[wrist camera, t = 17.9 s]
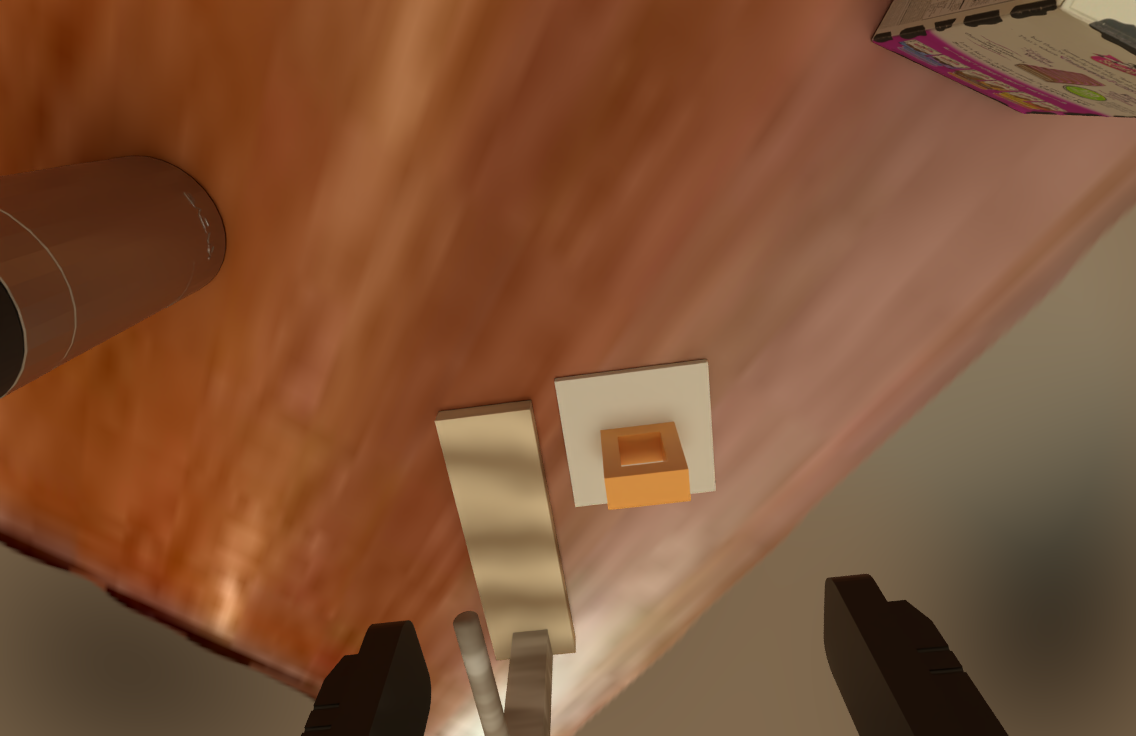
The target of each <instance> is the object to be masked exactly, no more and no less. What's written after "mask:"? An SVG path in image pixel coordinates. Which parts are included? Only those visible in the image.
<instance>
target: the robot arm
mask: <svg viewBox="0 0 1136 736" xmlns="http://www.w3.org/2000/svg"><path fill="white" fill-rule="evenodd" d="M225 248H226V247H225V232H224V228H223V224H222V220H221V217H220V215H219V213H218V211H217V209H216V207H215V204H214V203H213V202H212V200H211V199H210V197H209V196H208V194H207V193H206V192H205V190H204V189H203V188H202V187H201V186H200V185H199V184H198V183H197V182H196V181H195V180H194V179H193V178H191V177H190V176H189V175H187V174H186V173H185V172H183V171H182V170H180V169H179V168H177V167H175V166H173V165H171V164H169V163H167V162H165V161H162V160H158V159H154V158H151V157H145V156H127V157H121V158H114V159H108V160H101V161H95V162H88V163H80V164H73V165H67V166H61V167H55V168H49V169H43V170H36V171H30V172H24V173H18V174H12V175H5V176H0V398H2V397H4V396H6V395H8V394H10V393H11V392H13V391H15V390H17V389H19V388H20V387H22V386H24V385H26V384H28V383H30V382H31V381H33V380H35V379H37V378H39V377H40V376H42V375H44V374H46V373H48V372H50V371H51V370H52V369H54V368H56V367H58V366H60V365H62V364H63V363H65V362H67V361H69V360H71V359H73V358H74V357H76V356H78V355H80V354H82V353H84V352H85V351H87V350H89V349H91V348H93V347H95V346H96V345H98V344H100V343H102V342H104V341H106V340H107V339H109V338H111V337H113V336H115V335H117V334H118V333H120V332H122V331H124V330H126V329H128V328H129V327H131V326H133V325H135V324H137V323H139V322H140V321H142V320H144V319H146V318H148V317H150V316H151V315H153V314H155V313H157V312H159V311H161V310H162V309H164V308H166V307H168V306H170V305H172V304H174V303H176V302H177V301H179V300H181V299H183V298H185V297H186V296H188V295H190V294H192V293H194V292H196V291H197V290H199V289H201V288H202V287H203V286H205V285H206V284H208V283H209V282H210V281H211V280H212V279H213V278H214V276H215V275H216V274H217V273H218V271H219V269H220V267H221V264H222V262H223V259H224V253H225ZM824 603H825V604H824V645H825V651H826V656H827V660H828V663H829V666H830V669H831V672H832V674H833V677H834V679H835V681H836V683H837V686H838V688H839V690H840V692H841V695H842V697H843V699H844V702H845V704H846V706H847V708H848V711H849V713H850V715H851V717H852V720H853V722H854V724H855V726H856V729H857V731H858V733H859V736H1008V734H1007V733H1006V731H1005V730H1004V728H1003V727H1002V725H1001V724H1000V722H999V721H998V719H997V718H996V716H995V715H994V713H993V712H992V710H991V709H990V707H989V706H988V704H987V703H986V701H985V700H984V698H983V697H982V695H981V694H980V692H979V691H978V689H977V688H976V686H975V685H974V683H973V682H972V680H971V679H970V677H969V676H968V674H967V673H966V672H963V668H962V665H961V664H960V663H959V661H958V660H957V658H956V656H955V655H954V653H953V652H952V651H950V650H949V647H948V644H947V643H946V642H945V640H944V639H943V637H942V636H941V634H940V633H939V631H938V629H937V628H936V626H935V625H934V624H933V622H932V621H931V620H930V619H929V618H928V617H926V616H925V615H924V614H923V613H921V612H920V611H919V610H917V609H916V608H915V607H913V606H912V605H911V604H910V603H908V602H907V601H906V600H900V601H891V602H887V600H886V599H885V597H884V595H883V594H882V592H881V591H880V589H879V587H878V586H877V584H876V582H875V581H874V579H873V578H872V577H871V576H870V575H869V574H860V575H850V576H841V577H831V578H827V579H826V582H825V602H824ZM430 704H431V682H430V676H429V672H428V669H427V666H426V663H425V660H424V656H423V653H422V650H421V647H420V644H419V641H418V638H417V634H416V631H415V628H414V626H413V624H412V622H411V621H409V620H407V621H398V622H388V623H379V624H372V625H371V626H370V627H369V628H368V630H367V632H366V635H365V637H364V640H363V643H362V645H361V648H360V651H359V653H358V654H355V655H345V656H344V657H343V658H342V659H341V660H340V661H339V663H338V664H337V665H336V666H335V667H334V669H333V670H332V671H331V672H330V673H329V675H328V676H327V677H326V678H325V679H324V682H323V684H322V687H321V689H320V691H319V694H318V696H317V699H316V701H315V703H314V710H313V711H311V713H310V715H309V718H308V720H307V723H306V725H305V732H304V733H302V735H301V736H424V732H425V728H426V723H427V719H428V715H429V710H430Z"/></svg>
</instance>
